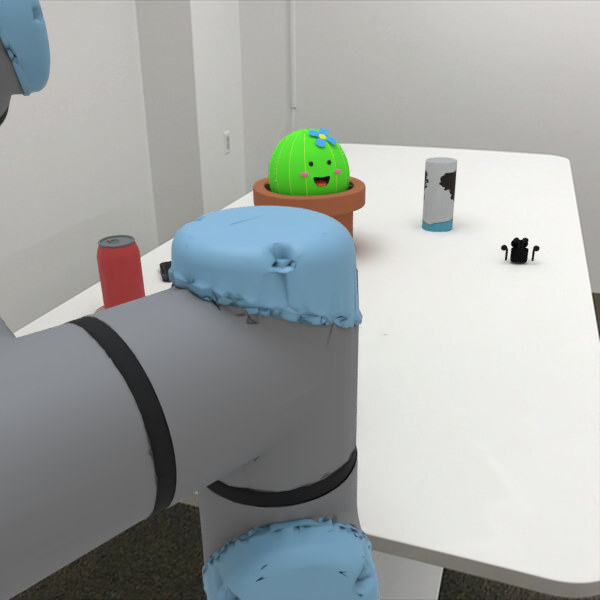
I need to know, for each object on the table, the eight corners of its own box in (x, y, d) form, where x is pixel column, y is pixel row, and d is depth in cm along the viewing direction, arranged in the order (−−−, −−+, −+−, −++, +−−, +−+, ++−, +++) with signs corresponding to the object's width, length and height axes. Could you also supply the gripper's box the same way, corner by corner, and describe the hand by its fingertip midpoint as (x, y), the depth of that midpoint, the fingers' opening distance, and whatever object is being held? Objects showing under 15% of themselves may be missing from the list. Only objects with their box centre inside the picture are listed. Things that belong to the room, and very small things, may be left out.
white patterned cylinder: (458, 227, 145) (464, 160, 139) (437, 233, 142) (441, 164, 136) (436, 221, 150) (440, 156, 144) (415, 226, 147) (418, 160, 141)
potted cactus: (245, 240, 140) (238, 121, 130) (340, 229, 146) (340, 114, 136) (273, 274, 121) (267, 137, 111) (381, 260, 127) (385, 129, 117)
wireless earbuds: (499, 263, 124) (502, 238, 122) (498, 259, 126) (500, 234, 124) (538, 264, 123) (541, 239, 121) (535, 260, 125) (538, 235, 123)
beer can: (125, 300, 109) (116, 231, 104) (155, 307, 106) (147, 237, 101) (96, 314, 104) (84, 243, 99) (126, 322, 101) (116, 249, 96)
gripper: (156, 483, 41) (161, 326, 62) (356, 456, 43) (294, 313, 65) (142, 379, 38) (152, 252, 60) (357, 356, 40) (292, 241, 62)
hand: (226, 284), depth 62 cm, fingers closed
